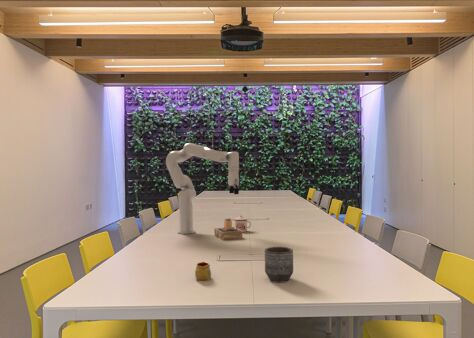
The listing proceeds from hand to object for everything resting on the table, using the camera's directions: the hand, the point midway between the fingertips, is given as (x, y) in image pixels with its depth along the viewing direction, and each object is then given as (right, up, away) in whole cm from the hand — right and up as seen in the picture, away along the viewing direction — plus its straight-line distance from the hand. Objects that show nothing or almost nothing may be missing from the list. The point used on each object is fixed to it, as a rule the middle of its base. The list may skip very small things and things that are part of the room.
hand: (234, 193), depth 276 cm
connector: (-4, -28, -11) cm, 30 cm away
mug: (-13, -31, -102) cm, 107 cm away
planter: (+20, -30, -107) cm, 113 cm away
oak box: (-4, -29, -11) cm, 31 cm away
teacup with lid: (+6, -28, +10) cm, 31 cm away
